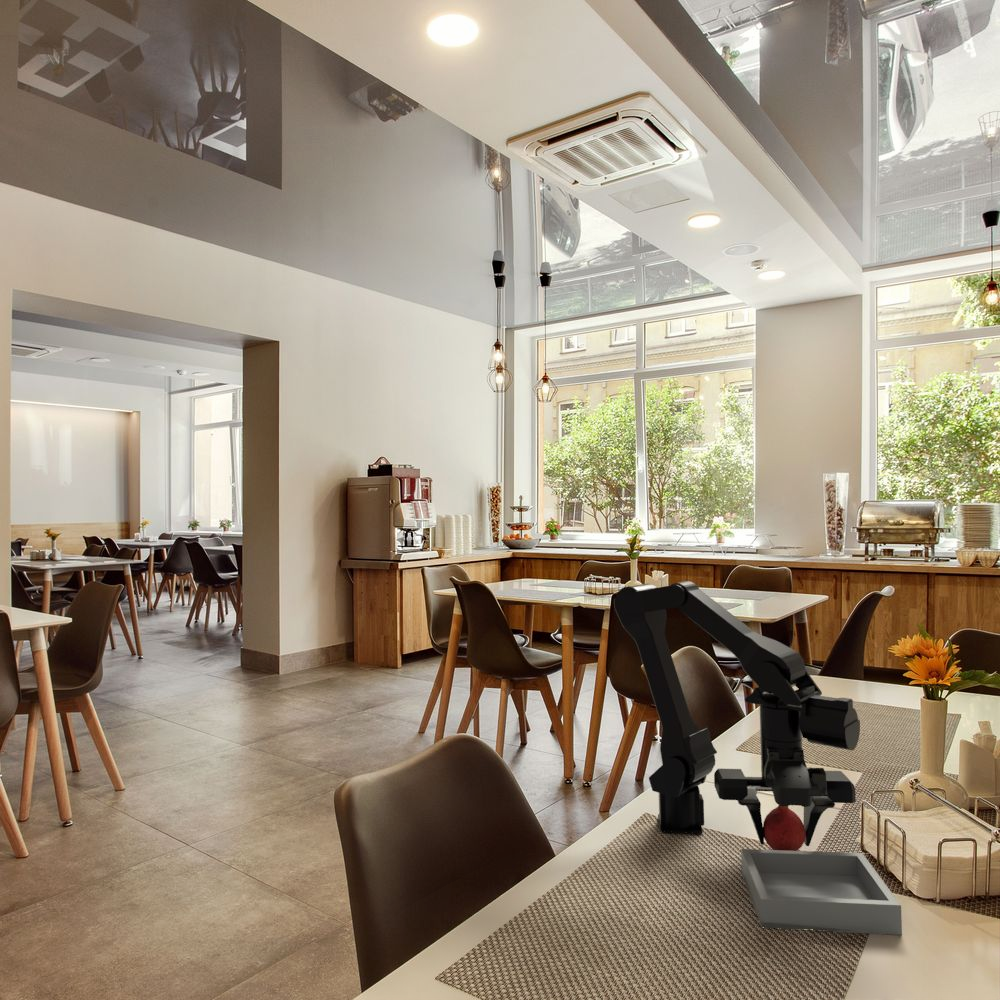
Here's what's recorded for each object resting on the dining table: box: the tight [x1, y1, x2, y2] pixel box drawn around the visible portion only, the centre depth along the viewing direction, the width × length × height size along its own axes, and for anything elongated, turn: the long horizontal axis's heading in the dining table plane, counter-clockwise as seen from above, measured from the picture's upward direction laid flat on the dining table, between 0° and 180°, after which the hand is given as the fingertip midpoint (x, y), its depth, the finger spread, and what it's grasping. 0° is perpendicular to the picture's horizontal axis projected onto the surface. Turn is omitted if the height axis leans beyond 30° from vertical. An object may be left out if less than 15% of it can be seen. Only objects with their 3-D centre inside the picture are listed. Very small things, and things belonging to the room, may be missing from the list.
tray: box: [740, 848, 903, 936], centre depth 100 cm, size 16×14×4 cm
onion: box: [762, 805, 806, 851], centre depth 113 cm, size 6×6×8 cm
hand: (784, 844), depth 113 cm, fingers closed on onion, 6 cm apart
